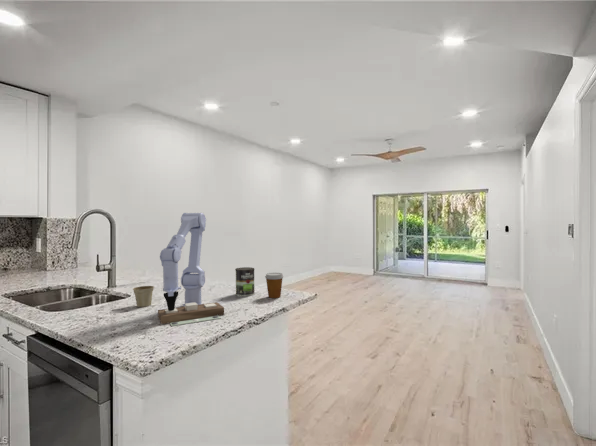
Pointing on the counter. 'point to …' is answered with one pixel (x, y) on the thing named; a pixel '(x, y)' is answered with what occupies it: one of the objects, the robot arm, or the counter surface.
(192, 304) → the button middle
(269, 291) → the disposable coffee cup
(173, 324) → the pattern card
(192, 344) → the counter surface
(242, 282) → the coffee can
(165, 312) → the cream square block
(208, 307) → the white square block
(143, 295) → the flower pot
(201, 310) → the brown flat rectangular frame
